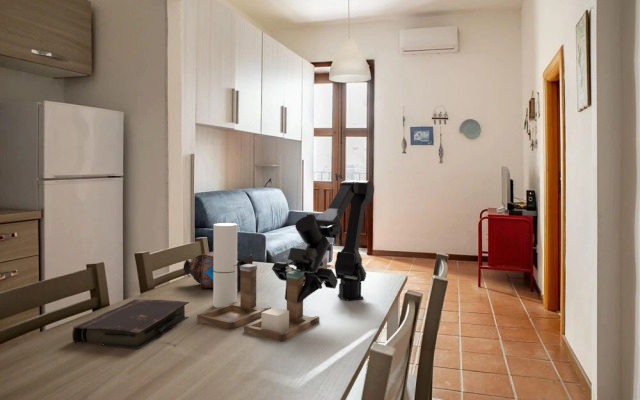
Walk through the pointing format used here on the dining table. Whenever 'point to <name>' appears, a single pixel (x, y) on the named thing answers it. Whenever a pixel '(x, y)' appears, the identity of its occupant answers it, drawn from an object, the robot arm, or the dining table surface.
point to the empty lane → (237, 304)
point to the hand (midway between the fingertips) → (292, 300)
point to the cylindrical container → (225, 264)
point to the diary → (131, 323)
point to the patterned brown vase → (210, 269)
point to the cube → (275, 320)
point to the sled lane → (295, 309)
